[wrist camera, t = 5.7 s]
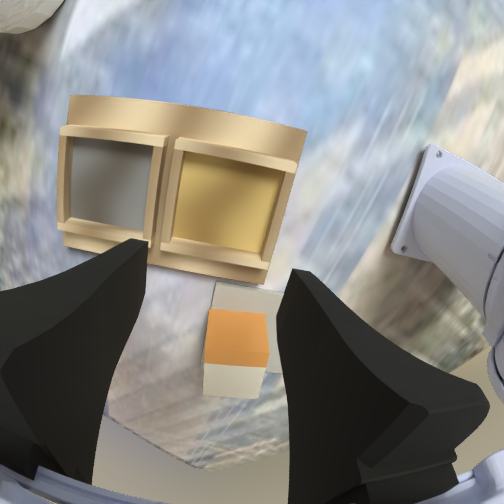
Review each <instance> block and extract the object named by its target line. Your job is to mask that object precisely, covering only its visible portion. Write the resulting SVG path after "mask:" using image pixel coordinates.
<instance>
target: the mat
mask: <svg viewBox="0 0 504 504" xmlns="http://www.w3.org/2000/svg"><path fill="white" fill-rule="evenodd" d="M283 295H284V293H282V292H276V291H270V290H264V289H258V288H252V287H246V286H240V285H235V284H229V283H223V282H218V281H216V285H215V290H214V295H213V300H212V305H211V309H217V310H227V311H238V312H250V313H263V314H265V317H266V325H267V334H268V342H269V351H270V354H269V358H268V362H267V366H266V370H265V372H273V373H283V372H282V367H281V362H280V356H279V350H278V344H277V332H276V315H277V312H278V309H279V306H280V303H281V301H282V298H283ZM206 334H207V331H206ZM205 343H206V336H205V341H204V347H203V352H202V357H201V363H204V356H205Z"/></svg>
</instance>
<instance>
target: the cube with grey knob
mask: <svg viewBox="0 0 504 504" xmlns="http://www.w3.org/2000/svg"><path fill="white" fill-rule="evenodd" d="M269 354H270V351H269V342H268V334H267V325H266V317H265V314H263V313H250V312H238V311H227V310H217V309H209V316H208V325H207V334H206V343H205V356H204V378H203V395H206V396H217V397H230V398H248V399H258V397H259V393H260V389H261V385H262V382H263V378H264V374H265V370H266V366H267V362H268V358H269Z"/></svg>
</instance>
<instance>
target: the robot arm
mask: <svg viewBox="0 0 504 504" xmlns="http://www.w3.org/2000/svg"><path fill="white" fill-rule="evenodd" d="M438 151H439V156H438V157H437V156H436V153H437V152H438ZM148 245H149V241H144V240H138V239H133V238H130V239H128V240H126V241H124V242H122V243H120V244H118V245H116V246H114V247H113V248H111V249H109V250H107V251H105V252H103V253H101V254H99V255H98V256H96V257H94V258H92V259H90V260H88V261H86V262H84V263H82V264H79V265H77V266H75V267H73V268H71V269H69V270H67V271H65V272H62V273H60V274H57V275H55V276H52V277H49V278H47V279H44V280H41V281H38V282H34V283H31V284H27V285H24V286H21V287H17V288H14V289H10V290H5V291H0V504H53V503H51V502H49V501H47V500H45V499H48V500H50V501H52V502H55V503H57V504H168V503H162V502H157V501H152V500H147V499H142V498H137V497H132V496H128V495H125V494H121V493H117V492H113V491H109V490H106V489H102V488H99V487H96V486H93V485H92V475H93V467H94V459H95V451H96V446H97V440H98V435H99V429H100V424H101V420H102V415H103V411H104V407H105V402H106V398H107V395H108V391H109V387H110V383H111V380H112V377H113V374H114V371H115V368H116V366H117V363H118V361H119V359H120V356H121V354H122V352H123V349H124V347H125V345H126V343H127V340H128V338H129V336H130V334H131V331H132V329H133V327H134V325H135V322H136V320H137V318H138V315H139V312H140V309H141V305H142V302H143V299H144V295H145V289H146V271H147V257H148ZM403 246H405V248H404V249H403V250H401V248H402V247H403ZM391 250H392V251H393V253H395V254H398V255H402V256H407V257H411V258H415V259H419V260H423V261H427V262H431V263H434V264H435V265H436V266H437V267H438V268H439V269H440V270H441V271H442V272H443V273H444V274H445V275H446V276H447V277H448V278H449V279H450V281H451V282H452V283H453V284H454V285H455V286H456V287H457V288H458V289H459V290H460V291H461V292H462V294H463V295H464V296H465V297H466V298H467V299H468V300H469V301H470V302H471V304H472V305H473V306H474V307H475V308H476V309H477V310H478V312H479V313H480V314H481V315H482V316H483V317H484V319H485V320H486V325H485V328H484V330H483V333H482V334H483V335H484V337H485V338H486V339H487V341H488V342H489V343H490V345H491V346H492V348H491V350H490V352H489V355H488V359H487V369H488V375H489V378H490V381H491V384H492V386H493V388H494V390H495V392H496V393H497V395H498V397H499V399H500V400H501V401H502V403H503V404H504V183H503V182H501V181H500V180H498V179H496V178H495V177H493V176H492V175H490V174H488V173H487V172H485V171H483V170H481V169H480V168H478V167H476V166H474V165H473V164H471V163H469V162H467V161H466V160H464V159H462V158H460V157H458V156H456V155H454V154H452V153H450V152H449V151H447V150H445V149H443V148H441V147H439V146H437V145H434V144H429V145H427V147H426V149H425V152H424V155H423V159H422V162H421V165H420V168H419V171H418V174H417V177H416V180H415V183H414V186H413V189H412V191H411V194H410V197H409V200H408V202H407V205H406V208H405V211H404V213H403V216H402V218H401V221H400V224H399V226H398V229H397V231H396V234H395V236H394V239H393V241H392V243H391ZM276 332H277V344H278V350H279V356H280V362H281V367H282V372H283V378H284V383H285V389H286V394H287V402H288V416H289V445H290V466H289V493H288V504H504V449H502V450H499V451H497V452H495V453H493V454H491V455H490V456H488V457H487V458H485V459H484V460H483V461H481V462H480V463H479V464H478V465H476V466H475V467H474V468H473V469H472V470H470V471H467V472H465V473H462V474H460V475H457V476H456V473H455V471H454V468H453V466H452V463H453V462H455V461H456V460H457V455H456V453H455V451H454V449H455V448H456V447H457V446H458V445H459V444H461V443H462V442H463V441H464V440H465V439H466V438H467V437H468V436H469V435H470V434H472V433H473V432H474V431H475V430H476V429H477V428H478V426H479V425H480V424H481V423H482V422H483V421H484V419H485V418H486V416H487V414H488V411H489V408H490V405H489V402H488V400H487V398H486V397H485V395H484V393H483V391H482V390H481V388H480V387H479V386H478V385H477V384H475V383H472V382H469V381H467V380H464V379H462V378H459V377H456V376H454V375H451V374H449V373H446V372H444V371H442V370H440V369H438V368H436V367H434V366H432V365H430V364H428V363H426V362H424V361H422V360H420V359H418V358H416V357H415V356H413V355H411V354H410V353H408V352H406V351H405V350H403V349H401V348H400V347H398V346H397V345H395V344H394V343H392V342H391V341H389V340H388V339H387V338H385V337H384V336H382V335H381V334H380V333H378V332H377V331H376V330H374V329H373V328H372V327H370V326H369V325H368V324H367V323H366V322H364V321H363V320H362V319H361V318H360V317H359V316H357V315H356V314H355V313H354V312H353V311H352V310H351V309H350V308H349V307H347V306H346V305H345V304H344V303H343V302H342V301H341V300H340V299H339V298H338V297H337V296H336V295H335V294H334V293H333V292H332V291H331V290H330V289H329V288H328V287H327V286H326V285H325V284H323V283H322V282H321V281H320V280H319V279H318V278H317V277H316V276H315V275H314V274H312V273H311V272H310V271H304V270H298V269H293V268H292V271H291V274H290V277H289V280H288V283H287V286H286V289H285V292H284V295H283V298H282V301H281V303H280V306H279V309H278V312H277V315H276ZM39 496H41V497H43V498H45V499H43V498H41V497H39Z"/></svg>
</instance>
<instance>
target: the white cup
mask: <svg viewBox="0 0 504 504" xmlns="http://www.w3.org/2000/svg"><path fill="white" fill-rule="evenodd" d="M63 1H64V0H0V33H11V34H21V33H24V32H27V31H30V30H33V29H35V28H37V27H38V26H39V25H41V24H42V23H43V22H44V21H46V20H47V19H48V18H50V17H51V16H52V15H53V14H54V12H55V11H56V10H57V9H58V7H59V6H60V5H61V4H62V2H63Z"/></svg>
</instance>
